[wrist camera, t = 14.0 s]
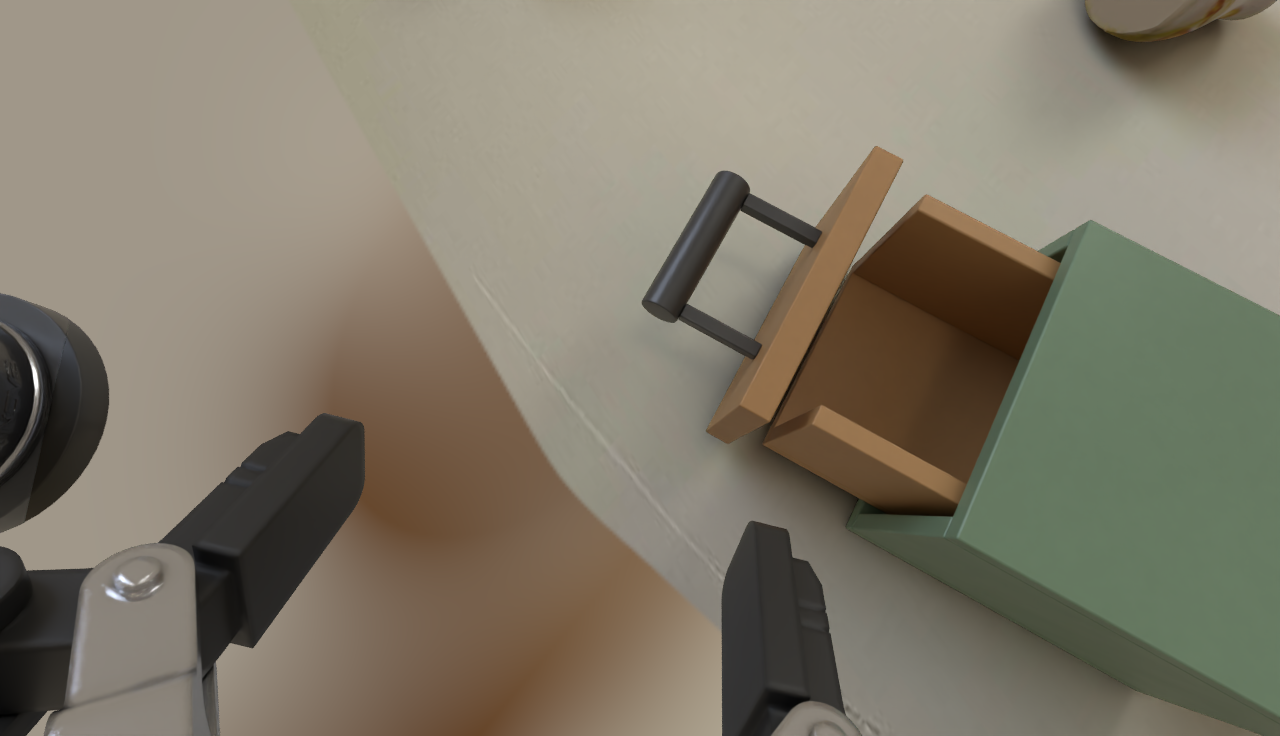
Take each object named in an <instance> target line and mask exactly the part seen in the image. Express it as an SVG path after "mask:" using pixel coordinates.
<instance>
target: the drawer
mask: <svg viewBox="0 0 1280 736" xmlns="http://www.w3.org/2000/svg"><path fill="white" fill-rule="evenodd" d="M902 163H903V159H901V158H899V157H897V156H895V155H893V154H891V153H889V152H887V151H886V150H884V149H882V148H880V147H878V146H875V147H874V148H873V150H872V151H871V152H870V154H869V155H868V157H867V158H866V159H865V161H864V162H863V163H862V165H861V166H860V167H859V169H858V170H857V172H856V173H855V174H854V176H853V177H852V178H851V180H850V181H849V182H848V184H847V185H846V187H845V188H844V189H843V191H842V192H841V193H840V195H839V196H838V197H837V199H836V200H835V202H834V203H833V204H832V206H831V207H830V208H829V210H828V211H827V212H826V214H825V215H824V217H823V218H822V219H821V221H820V222H819V223H818V225H817V226H816V227H813V226H811V225H809V224H807V223H805V222H803V221H801V220H800V219H798V218H796V217H794V216H792V215H790V214H788V213H786V212H784V211H782V210H780V209H779V208H777V207H775V206H773V205H771V204H769V203H767V202H765V201H763V200H761V199H760V198H758V197H756V196H754V195H752V194H750V188H749V185H748V184H747V182H746V181H745V180H744V179H743V178H742V177H740V176H739V175H737V174H735V173H733V172H730V171H720V172H718V173H717V174H716V176H715V177H714V179H713V181H712V182H711V184H710V186H709V188H708V189H707V191H706V193H705V194H704V196H703V198H702V199H701V201H700V203H699V205H698V206H697V208H696V210H695V211H694V213H693V215H692V216H691V218H690V220H689V222H688V223H687V225H686V227H685V228H684V230H683V232H682V233H681V235H680V237H679V239H678V240H677V242H676V244H675V245H674V247H673V249H672V251H671V252H670V254H669V256H668V257H667V259H666V261H665V262H664V264H663V266H662V268H661V269H660V271H659V273H658V274H657V276H656V278H655V279H654V281H653V283H652V285H651V286H650V288H649V290H648V291H647V293H646V295H645V296H644V298H643V300H642V305H643V307H644V308H645V309H646V310H647V311H648V312H649V313H651V314H652V315H654V316H655V317H657V318H659V319H661V320H663V321H666V322H670V323H675V322H676V321H677V320H678V318H679V320H680V321H682V322H684V323H686V324H688V325H689V326H691V327H693V328H695V329H697V330H699V331H700V332H702V333H704V334H706V335H708V336H710V337H711V338H713V339H715V340H717V341H719V342H721V343H722V344H724V345H726V346H728V347H730V348H732V349H733V350H735V351H737V352H739V353H741V354H743V355H744V356H745V358H744V360H743V362H742V364H741V366H740V368H739V370H738V371H737V373H736V375H735V377H734V379H733V381H732V383H731V385H730V386H729V388H728V390H727V392H726V394H725V396H724V398H723V400H722V401H721V403H720V405H719V407H718V409H717V411H716V413H715V415H714V416H713V418H712V420H711V422H710V424H709V426H708V428H707V430H706V432H707V433H709V434H711V435H712V436H714V437H716V438H718V439H720V440H721V441H723V442H725V443H727V444H729V443H731V442H733V441H734V440H736V439H738V438H740V437H742V436H744V435H746V434H748V433H750V432H752V431H753V430H755V429H757V428H759V427H761V426H763V425H765V424H767V423H769V422H770V421H771V419H772V417H773V416H774V414H775V412H776V410H777V408H778V406H779V404H780V402H781V400H782V398H783V396H784V394H785V392H786V390H787V388H788V386H789V384H790V382H791V380H792V378H793V376H794V374H795V372H796V370H797V369H798V367H799V365H800V363H801V361H802V359H803V357H804V355H805V353H806V351H807V349H808V347H809V345H810V343H811V341H812V339H813V337H814V335H815V333H816V331H817V329H818V327H819V325H820V323H821V322H822V320H823V318H824V316H825V314H826V312H827V310H828V308H829V306H830V304H831V302H832V300H833V298H834V296H835V294H836V292H837V290H838V288H839V286H840V284H841V282H842V280H843V278H844V276H845V275H846V273H847V271H848V269H849V267H850V265H851V263H852V261H853V259H854V257H855V255H856V253H857V251H858V249H859V247H860V245H861V243H862V241H863V239H864V237H865V235H866V233H867V231H868V229H869V228H870V226H871V224H872V222H873V220H874V218H875V216H876V214H877V212H878V210H879V208H880V206H881V204H882V202H883V200H884V198H885V196H886V194H887V192H888V190H889V188H890V186H891V184H892V182H893V181H894V179H895V177H896V175H897V173H898V171H899V169H900V167H901V165H902ZM740 209H741V211H742V212H744V213H746V214H748V215H750V216H752V217H754V218H755V219H757V220H759V221H761V222H763V223H765V224H767V225H769V226H771V227H772V228H774V229H776V230H778V231H780V232H782V233H784V234H786V235H788V236H790V237H791V238H793V239H795V240H797V241H799V242H801V243H803V244H805V246H804V248H803V250H802V251H801V253H800V255H799V257H798V259H797V261H796V263H795V265H794V266H793V268H792V270H791V272H790V274H789V276H788V278H787V280H786V281H785V283H784V285H783V287H782V289H781V291H780V293H779V295H778V296H777V298H776V300H775V302H774V304H773V306H772V308H771V310H770V311H769V313H768V315H767V317H766V319H765V321H764V323H763V325H762V326H761V328H760V330H759V332H758V334H757V336H756V338H755V340H753V339H751V338H749V337H748V336H746V335H744V334H742V333H740V332H738V331H736V330H735V329H733V328H731V327H729V326H727V325H725V324H724V323H722V322H720V321H718V320H716V319H714V318H713V317H711V316H709V315H707V314H705V313H703V312H701V311H700V310H698V309H696V308H694V307H692V306H690V305H689V304H687V302H688V300H689V299H690V297H691V295H692V293H693V292H694V290H695V288H696V286H697V285H698V283H699V281H700V279H701V278H702V276H703V274H704V272H705V270H706V269H707V267H708V265H709V263H710V262H711V260H712V258H713V256H714V255H715V253H716V251H717V249H718V248H719V246H720V244H721V242H722V241H723V239H724V237H725V235H726V234H727V232H728V230H729V228H730V227H731V225H732V223H733V221H734V220H735V218H736V216H737V214H738V212H739V211H740ZM1060 264H1061V263H1059V262H1057V261H1055V260H1053V259H1052V258H1050V257H1048V256H1046V255H1044V254H1042V253H1040V252H1038V251H1036V250H1034V249H1032V248H1030V247H1028V246H1026V245H1024V244H1022V243H1020V242H1018V241H1017V240H1015V239H1013V238H1011V237H1009V236H1007V235H1005V234H1003V233H1001V232H999V231H997V230H995V229H993V228H991V227H989V226H987V225H985V224H983V223H982V222H980V221H978V220H976V219H974V218H972V217H970V216H968V215H966V214H964V213H962V212H960V211H958V210H956V209H954V208H952V207H950V206H948V205H947V204H945V203H943V202H941V201H939V200H937V199H935V198H933V197H931V196H929V195H924V196H923V197H922V198H921V199H920V200H919V201H918V202H917V203H916V204H915V205H914V206H913V207H912V208H911V209H910V210H909V211H908V212H907V213H906V214H905V215H904V216H903V217H902V218H901V219H900V220H899V221H898V222H897V223H896V224H895V225H894V226H893V227H892V228H891V229H890V230H889V231H888V232H887V233H886V234H885V235H884V236H883V237H882V238H881V239H880V240H879V241H878V242H877V243H876V244H875V245H874V246H873V247H872V248H871V249H870V250H869V251H868V252H867V253H866V254H865V255H864V256H863V257H862V258H861V259H860V260H859V261H857V262H856V263H855V264H854V265H853V267H852V268H851V270H850V272H849V274H848V276H847V278H846V280H845V282H844V284H843V286H842V288H841V290H840V292H839V294H838V296H837V298H836V300H835V302H834V304H833V306H832V308H831V310H830V312H829V314H828V316H827V318H826V320H825V321H824V323H823V325H822V327H821V329H820V331H819V333H818V335H817V337H816V339H815V341H814V343H813V345H812V347H811V349H810V351H809V353H808V355H807V357H806V359H805V361H804V363H803V365H802V367H801V369H800V371H799V373H798V374H797V376H796V378H795V380H794V382H793V384H792V386H791V388H790V390H789V392H788V394H787V396H786V398H785V400H784V402H783V404H782V406H781V408H780V410H779V412H778V414H777V416H776V418H775V420H774V422H773V424H772V426H771V427H770V429H769V431H768V433H767V435H766V437H765V439H764V441H763V445H764V446H766V447H768V448H769V449H771V450H773V451H775V452H777V453H778V454H780V455H782V456H784V457H786V458H787V459H789V460H791V461H793V462H795V463H796V464H798V465H800V466H802V467H804V468H805V469H807V470H809V471H811V472H813V473H814V474H816V475H818V476H820V477H822V478H823V479H825V480H827V481H829V482H831V483H832V484H834V485H836V486H838V487H840V488H841V489H843V490H845V491H847V492H849V493H850V494H852V495H854V496H856V497H858V498H859V499H861V500H863V501H865V502H867V503H868V504H870V505H872V506H874V507H876V508H877V509H879V510H881V511H883V512H885V513H886V514H890V515H919V516H947V517H953V516H954V514H955V511H956V509H957V507H958V504H959V502H960V500H961V497H962V495H963V492H964V490H965V488H966V485H967V483H968V481H969V478H970V476H971V474H972V471H973V469H974V467H975V464H976V462H977V459H978V457H979V455H980V452H981V450H982V448H983V445H984V443H985V441H986V438H987V436H988V434H989V431H990V429H991V426H992V424H993V422H994V419H995V417H996V415H997V412H998V410H999V408H1000V405H1001V403H1002V401H1003V398H1004V396H1005V393H1006V391H1007V389H1008V386H1009V384H1010V382H1011V379H1012V377H1013V375H1014V372H1015V370H1016V368H1017V365H1018V363H1019V360H1020V358H1021V356H1022V353H1023V351H1024V349H1025V346H1026V344H1027V342H1028V339H1029V337H1030V335H1031V332H1032V330H1033V328H1034V325H1035V323H1036V320H1037V318H1038V316H1039V313H1040V311H1041V309H1042V306H1043V304H1044V302H1045V299H1046V297H1047V295H1048V292H1049V290H1050V287H1051V285H1052V283H1053V280H1054V278H1055V276H1056V273H1057V271H1058V269H1059V266H1060Z"/></svg>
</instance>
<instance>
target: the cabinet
mask: <svg viewBox="0 0 1280 736" xmlns="http://www.w3.org/2000/svg"><path fill="white" fill-rule="evenodd" d="M1038 252H1040V253H1042V254H1044V255H1046V256H1048V257H1050V258H1052V259H1053V260H1055V261H1057V262H1059V263H1061V264H1060V266H1059V269H1058V271H1057V273H1056V276H1055V278H1054V280H1053V283H1052V285H1051V287H1050V290H1049V292H1048V295H1047V297H1046V299H1045V302H1044V304H1043V306H1042V309H1041V311H1040V313H1039V316H1038V318H1037V320H1036V323H1035V325H1034V328H1033V330H1032V332H1031V335H1030V337H1029V339H1028V342H1027V344H1026V346H1025V349H1024V351H1023V353H1022V356H1021V358H1020V360H1019V363H1018V365H1017V368H1016V370H1015V372H1014V375H1013V377H1012V379H1011V382H1010V384H1009V386H1008V389H1007V391H1006V393H1005V396H1004V398H1003V401H1002V403H1001V405H1000V408H999V410H998V412H997V415H996V417H995V419H994V422H993V424H992V426H991V429H990V431H989V434H988V436H987V438H986V441H985V443H984V445H983V448H982V450H981V452H980V455H979V457H978V459H977V462H976V464H975V467H974V469H973V471H972V474H971V476H970V478H969V481H968V483H967V485H966V488H965V490H964V492H963V495H962V497H961V500H960V502H959V504H958V507H957V509H956V511H955V514H954V516H953V517H947V516H919V515H890V514H886V513H885V512H883V511H881V510H879V509H877V508H876V507H874V506H872V505H870V504H868V503H867V502H865V501H863V500H861V499H858V501H857V504H856V506H855V508H854V510H853V512H852V514H851V517H850V519H849V521H848V523H847V525H846V528H847V529H848V530H850V531H852V532H853V533H855V534H857V535H859V536H861V537H862V538H864V539H866V540H868V541H870V542H871V543H873V544H875V545H877V546H878V547H880V548H882V549H884V550H886V551H887V552H889V553H891V554H893V555H895V556H896V557H898V558H900V559H902V560H904V561H905V562H907V563H909V564H911V565H912V566H914V567H916V568H918V569H920V570H921V571H923V572H925V573H927V574H929V575H930V576H932V577H934V578H936V579H937V580H939V581H941V582H943V583H945V584H946V585H948V586H950V587H952V588H954V589H955V590H957V591H959V592H961V593H962V594H964V595H966V596H968V597H970V598H971V599H973V600H975V601H977V602H979V603H980V604H982V605H984V606H986V607H988V608H989V609H991V610H993V611H995V612H996V613H998V614H1000V615H1002V616H1004V617H1005V618H1007V619H1009V620H1011V621H1013V622H1014V623H1016V624H1018V625H1020V626H1021V627H1023V628H1025V629H1027V630H1029V631H1030V632H1032V633H1034V634H1036V635H1038V636H1039V637H1041V638H1043V639H1045V640H1046V641H1048V642H1050V643H1052V644H1054V645H1055V646H1057V647H1059V648H1061V649H1063V650H1064V651H1066V652H1068V653H1070V654H1072V655H1073V656H1075V657H1077V658H1079V659H1080V660H1082V661H1084V662H1086V663H1088V664H1089V665H1091V666H1093V667H1095V668H1097V669H1098V670H1100V671H1102V672H1104V673H1105V674H1107V675H1109V676H1111V677H1113V678H1114V679H1116V680H1118V681H1120V682H1122V683H1123V684H1125V685H1127V686H1129V687H1131V688H1132V689H1134V690H1136V691H1139V692H1142V693H1144V694H1147V695H1150V696H1153V697H1156V698H1159V699H1162V700H1164V701H1167V702H1170V703H1173V704H1176V705H1178V706H1181V707H1184V708H1187V709H1190V710H1193V711H1195V712H1198V713H1201V714H1204V715H1207V716H1210V717H1212V718H1215V719H1218V720H1221V721H1224V722H1226V723H1229V724H1232V725H1235V726H1238V727H1241V728H1243V729H1246V730H1249V731H1252V732H1255V733H1258V734H1260V735H1263V736H1280V316H1279V315H1277V314H1275V313H1274V312H1272V311H1270V310H1268V309H1266V308H1264V307H1262V306H1260V305H1258V304H1256V303H1254V302H1252V301H1250V300H1248V299H1246V298H1244V297H1242V296H1240V295H1238V294H1236V293H1234V292H1232V291H1230V290H1228V289H1226V288H1224V287H1222V286H1220V285H1218V284H1216V283H1214V282H1212V281H1210V280H1208V279H1207V278H1205V277H1203V276H1201V275H1199V274H1197V273H1195V272H1193V271H1191V270H1189V269H1187V268H1185V267H1183V266H1181V265H1179V264H1177V263H1175V262H1173V261H1171V260H1169V259H1167V258H1165V257H1163V256H1161V255H1159V254H1157V253H1155V252H1153V251H1151V250H1149V249H1147V248H1145V247H1143V246H1141V245H1140V244H1138V243H1136V242H1134V241H1132V240H1130V239H1128V238H1126V237H1124V236H1122V235H1120V234H1118V233H1116V232H1114V231H1112V230H1110V229H1108V228H1106V227H1104V226H1102V225H1100V224H1098V223H1096V222H1094V221H1092V220H1089V221H1088V222H1086V223H1084V224H1082V225H1081V226H1079V227H1077V228H1076V229H1075V230H1072V231H1071V232H1069V233H1067V234H1066V235H1064V236H1062V237H1061V238H1059V239H1057V240H1056V241H1054V242H1052V243H1051V244H1049V245H1047V246H1045V247H1044V248H1042V249H1040V250H1039V251H1038Z"/></svg>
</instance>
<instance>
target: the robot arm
mask: <svg viewBox="0 0 1280 736" xmlns="http://www.w3.org/2000/svg"><path fill="white" fill-rule="evenodd" d="M51 404H52V382H51V376H50V372H49V368H48V365H47V363H46V360H45V358H44V356H43V355H42V353H41V351H40V350H39V348H38V347H37V345H36V344H35V343H34V342H33V341H32V340H31V339H30V338H29V337H28V336H27V335H26V334H25V333H23V332H22V331H20V330H19V329H18V328H16V327H14V326H12V325H10V324H8V323H6V322H3V321H1V320H0V486H1V485H3V484H4V483H5V482H6V481H7V480H8V479H10V478H11V477H12V476H13V475H14V474H15V473H16V472H17V471H18V470H19V469H20V468H21V467H22V466H23V464H24V463H25V462H26V461H27V460H28V458H29V457H30V455H31V454H32V453H33V451H34V450H35V448H36V446H37V445H38V443H39V441H40V439H41V437H42V435H43V433H44V430H45V428H46V425H47V422H48V419H49V415H50V410H51ZM364 450H365V449H364V426H363V424H362V423H361V422H358V421H354V420H350V419H346V418H342V417H338V416H334V415H330V414H326V413H323V414H321V415H319V416H317V417H316V418H315V419H314V420H313V421H312V422H311V424H309V425H308V426H307V427H306V428H305V430H304V431H303V432H302V433H301V434H297V433H293V432H289V431H288V432H286V433H283V434H281V435H279V436H277V437H275V438H273V439H272V440H269V441H267V442H265V443H263V444H261V445H260V446H259V447H258V448H257V449H256V450H255V451H254V452H253V453H252V454H251V455H250V456H249V457H247V458H246V460H244V461H243V462H242V464H241V467H237V468H236V469H235V470H234V471H233V472H232V473H231V474H230V475H229V476H228V477H227V478H226V480H225V482H224V483H223V482H222V483H220V484H219V485H218V486H217V487H216V488H215V489H214V490H213V491H212V492H211V493H210V494H209V495H208V496H207V497H206V498H205V499H204V500H203V501H202V502H201V503H200V504H198V505H197V506H196V508H194V509H193V510H192V511H191V512H190V513H189V514H188V515H187V516H186V517H185V518H184V519H183V520H182V521H181V522H180V523H179V524H178V525H177V526H176V527H175V528H173V529H172V530H171V531H170V532H169V533H168V534H167V535H166V536H165V537H164V538H163V539H162V540H161V541H159V542H158V543H153V544H145V545H139V546H136V547H131V548H129V549H126V550H123V551H121V552H118V553H116V554H114V555H112V556H110V557H109V558H107V559H105V560H104V561H102V562H101V563H100V564H98V565H97V566H96V567H95V568H88V569H61V570H33V571H26V569H25V567H24V564H23V562H22V560H21V558H20V556H19V555H18V554H17V553H16V552H14V551H12V550H10V549H8V548H5V547H0V736H26V735H27V734H28V733H29V732H30V731H31V729H32V728H33V727H34V726H35V725H36V724H37V723H38V721H39V720H40V719H41V718H42V717H43V716H44V715H45V713H46V712H47V711H50V710H57V711H54V712H53V713H52V714H51V715H50V716H49V718H48V721H47V724H46V727H45V732H44V736H220V728H219V708H218V686H217V668H216V660H217V659H218V658H219V656H220V655H221V654H222V653H223V651H224V650H225V649H226V647H227V646H228V644H229V643H233V644H237V645H241V646H245V647H250V648H254V646H255V645H256V644H257V642H258V641H259V639H260V638H261V637H262V635H263V634H264V633H265V631H266V630H267V628H268V627H269V626H270V624H271V623H272V622H273V620H274V619H275V617H276V616H277V615H278V613H279V612H280V610H281V609H282V608H283V606H284V605H285V604H286V602H287V601H288V599H289V598H290V597H291V595H292V594H293V593H294V591H295V590H296V588H297V587H298V586H299V584H300V583H301V582H302V580H303V579H304V577H305V576H306V575H307V573H308V572H309V570H310V569H311V568H312V566H313V565H314V564H315V562H316V561H317V559H318V558H319V557H320V555H321V554H322V553H323V551H324V550H325V548H326V547H327V545H328V544H329V543H330V541H331V540H332V539H333V537H334V536H335V534H336V533H337V532H338V530H339V529H340V528H341V526H342V525H343V524H344V522H345V521H346V519H347V518H348V517H349V515H350V514H351V513H352V511H353V510H354V508H355V506H356V505H357V503H358V501H359V498H360V496H361V493H362V490H363V486H364V480H365V459H364V458H365V451H364ZM825 610H826V606H825V600H824V595H823V589H822V584H821V583H820V581H819V579H818V578H817V576H816V574H815V573H814V571H813V569H812V567H811V566H810V564H809V562H808V561H804V560H800V559H796V558H792V552H791V544H790V537H789V533H788V531H787V530H786V529H783V528H779V527H775V526H771V525H767V524H763V523H759V522H755V521H750V522H749V523H748V525H747V527H746V529H745V531H744V533H743V536H742V538H741V540H740V543H739V545H738V547H737V549H736V552H735V554H734V556H733V558H732V561H731V563H730V565H729V568H728V570H727V573H726V576H725V580H724V585H723V591H722V736H862V734H861V733H860V731H859V730H858V728H857V727H856V726H855V725H854V723H853V722H852V721H851V720H850V719H849V718H848V717H847V716H846V714H845V711H844V707H843V701H842V696H841V690H840V685H839V679H838V673H837V668H836V662H835V656H834V651H833V645H832V640H831V634H830V633H829V623H828V617H827V613H825Z"/></svg>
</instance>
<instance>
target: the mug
mask: <svg viewBox="0 0 1280 736" xmlns="http://www.w3.org/2000/svg"><path fill="white" fill-rule="evenodd" d="M1276 1H1277V0H1085V6H1086V11H1087V13H1088V16H1089V18H1090V19H1091V20H1092V21H1093V22H1094V23H1095V24H1096V25H1097V26H1098V27H1100V28H1101V29H1103V30H1104V31H1105V32H1107V33H1109V34H1111V35H1113V36H1116V37H1118V38H1120V39H1123V40H1127V41H1135V42H1153V41H1160V40H1165V39H1170V38H1174V37H1178V36H1180V35H1183V34H1186V33H1189V32H1191V31H1194V30H1196V29H1198V28H1200V27H1202V26H1204V25H1206V24H1208V23H1210V22H1212V21H1214V20H1216V19H1225V20H1239V19H1245V18H1248V17H1251V16H1253V15H1255V14H1258V13H1260V12H1262V11H1263V10H1265V9H1266V8H1268V7H1270V6H1271V5H1272V4H1273V3H1275V2H1276Z"/></svg>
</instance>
